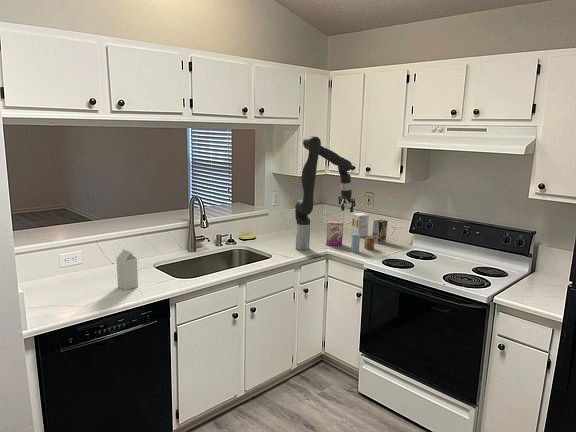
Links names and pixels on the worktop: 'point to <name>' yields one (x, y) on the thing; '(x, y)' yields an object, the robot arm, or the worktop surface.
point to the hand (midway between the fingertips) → (347, 211)
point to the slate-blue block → (355, 243)
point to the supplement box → (360, 224)
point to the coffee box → (379, 231)
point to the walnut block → (369, 243)
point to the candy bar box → (334, 233)
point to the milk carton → (127, 270)
